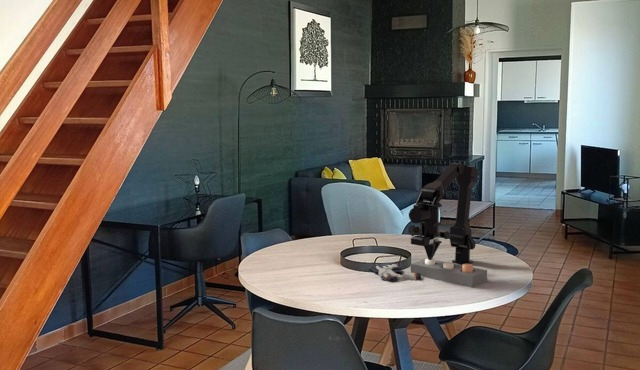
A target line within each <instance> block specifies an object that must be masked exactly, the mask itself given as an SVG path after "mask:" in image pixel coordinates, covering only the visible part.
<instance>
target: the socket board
mask: <svg viewBox="0 0 640 370" xmlns="http://www.w3.org/2000/svg"><path fill="white" fill-rule="evenodd" d="M425 259H428V257H426V258H423V259H420V260H418V261H415V262H413V263H412V262H411V263H410V273H420V275H421V277H424V278H428V279H433V280H437V281H442V282H446V283H449V284H455V285H460V286H464V287H469V288H474V287H477V286H478V285H481V284H483V283H485V282H487V281H488V269H484V268H483V269H482V268H479V267H474V266H473V272H472V273H467V272H462V264H459V263H454V266H453V268H452V269H447V268H443V263H444V262H445V261H442V260H437V259H435V264H434V265H427V264H425Z"/></svg>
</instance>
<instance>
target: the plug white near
mask: <svg viewBox="0 0 640 370" xmlns="http://www.w3.org/2000/svg"><path fill="white" fill-rule="evenodd" d="M424 259H425V264H427V265H434V264H435V260H436V259H435V258H432V260H429V259H426V258H424Z"/></svg>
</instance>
